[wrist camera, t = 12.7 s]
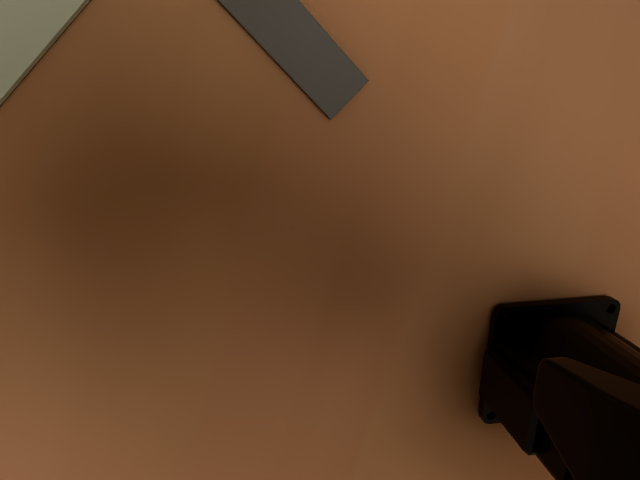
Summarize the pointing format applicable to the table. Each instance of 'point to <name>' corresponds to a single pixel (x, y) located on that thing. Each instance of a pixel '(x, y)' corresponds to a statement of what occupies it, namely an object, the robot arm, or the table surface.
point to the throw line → (301, 50)
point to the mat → (30, 35)
